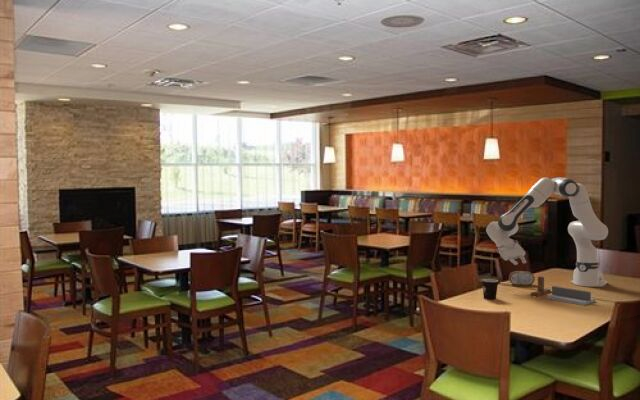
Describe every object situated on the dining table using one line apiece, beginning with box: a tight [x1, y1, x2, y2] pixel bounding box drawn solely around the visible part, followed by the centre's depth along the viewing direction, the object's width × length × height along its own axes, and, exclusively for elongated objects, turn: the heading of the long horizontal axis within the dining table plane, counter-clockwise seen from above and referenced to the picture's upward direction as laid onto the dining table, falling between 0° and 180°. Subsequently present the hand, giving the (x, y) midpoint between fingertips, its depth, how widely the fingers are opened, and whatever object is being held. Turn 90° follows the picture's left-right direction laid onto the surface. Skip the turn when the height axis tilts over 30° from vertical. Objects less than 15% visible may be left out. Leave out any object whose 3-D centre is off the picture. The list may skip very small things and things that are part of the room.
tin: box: [508, 270, 535, 286], centre depth 328 cm, size 15×3×8 cm, turn 84°
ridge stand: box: [546, 285, 596, 306], centre depth 288 cm, size 13×20×6 cm, turn 40°
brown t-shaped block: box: [530, 276, 552, 297], centre depth 303 cm, size 18×2×10 cm, turn 130°
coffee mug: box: [481, 278, 499, 301], centre depth 294 cm, size 12×9×10 cm
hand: (521, 263), depth 312 cm, fingers open, 8 cm apart
